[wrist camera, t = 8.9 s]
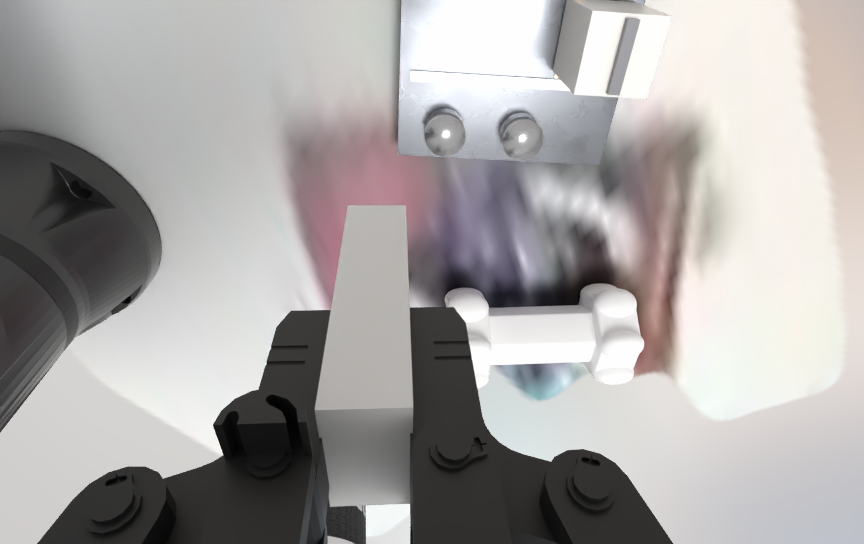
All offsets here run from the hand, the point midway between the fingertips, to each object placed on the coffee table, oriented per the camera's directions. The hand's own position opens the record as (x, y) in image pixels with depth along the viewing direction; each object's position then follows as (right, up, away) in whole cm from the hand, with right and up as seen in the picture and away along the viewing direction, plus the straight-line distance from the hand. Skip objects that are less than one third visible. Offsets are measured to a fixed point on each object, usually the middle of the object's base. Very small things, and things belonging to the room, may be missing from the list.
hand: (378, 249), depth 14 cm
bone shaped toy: (+10, -3, +31) cm, 33 cm away
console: (+7, +15, +17) cm, 24 cm away
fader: (+11, +13, +16) cm, 23 cm away
